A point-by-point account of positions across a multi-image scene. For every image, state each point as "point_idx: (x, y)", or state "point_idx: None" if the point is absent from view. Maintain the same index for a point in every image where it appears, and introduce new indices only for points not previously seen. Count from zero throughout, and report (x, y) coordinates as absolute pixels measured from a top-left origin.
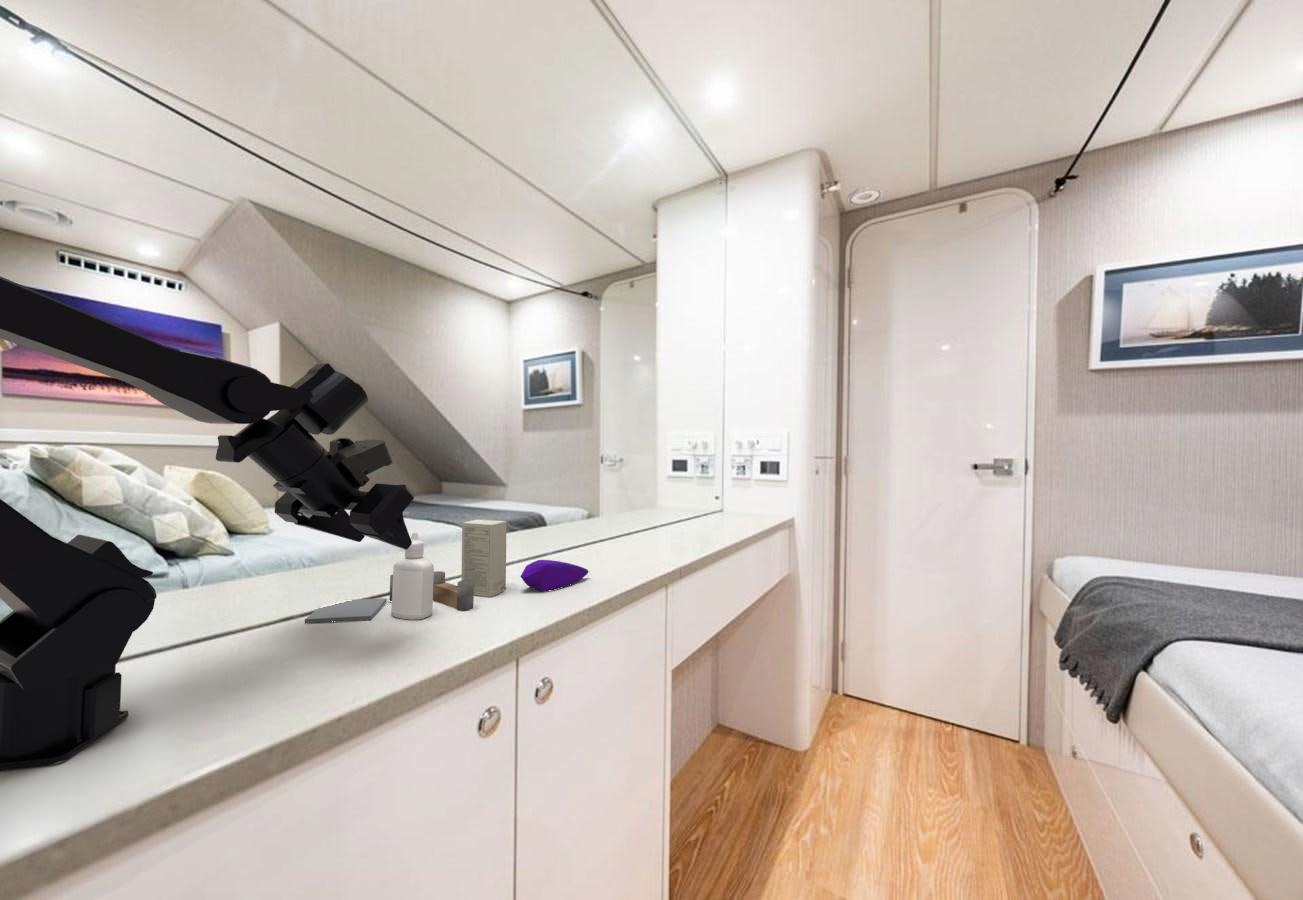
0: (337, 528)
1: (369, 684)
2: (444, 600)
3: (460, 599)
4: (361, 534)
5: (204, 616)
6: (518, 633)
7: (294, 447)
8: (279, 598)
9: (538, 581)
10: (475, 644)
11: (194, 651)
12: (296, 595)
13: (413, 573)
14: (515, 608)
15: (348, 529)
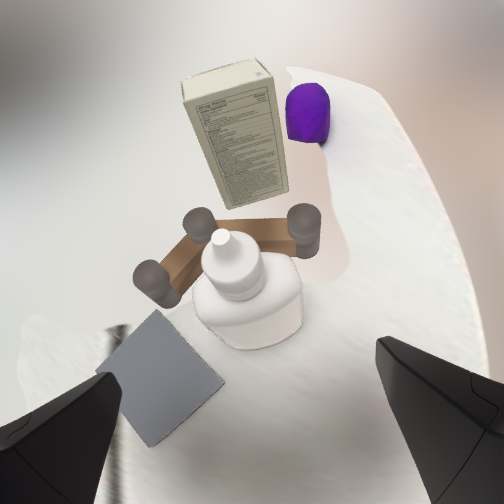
0: (85, 473)
1: None
2: None
3: (310, 247)
4: (107, 384)
5: None
6: (457, 258)
7: None
8: (37, 381)
9: (325, 132)
10: (457, 322)
11: None
12: (41, 363)
13: (280, 311)
14: (364, 199)
15: (90, 434)
